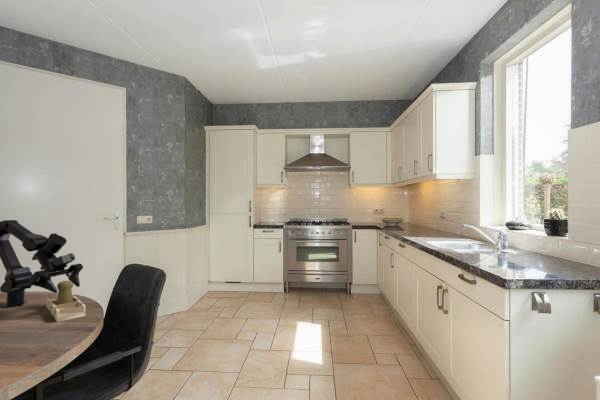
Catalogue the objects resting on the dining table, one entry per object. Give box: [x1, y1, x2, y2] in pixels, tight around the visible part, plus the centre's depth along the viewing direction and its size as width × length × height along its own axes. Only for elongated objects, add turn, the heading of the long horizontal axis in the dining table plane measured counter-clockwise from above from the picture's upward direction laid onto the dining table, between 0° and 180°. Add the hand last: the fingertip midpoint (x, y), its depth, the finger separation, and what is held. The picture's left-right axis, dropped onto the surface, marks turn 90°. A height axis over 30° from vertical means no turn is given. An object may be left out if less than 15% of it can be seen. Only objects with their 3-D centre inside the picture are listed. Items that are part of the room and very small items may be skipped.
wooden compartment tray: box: [45, 293, 86, 323], centre depth 122 cm, size 25×9×4 cm, turn 48°
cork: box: [56, 280, 74, 305], centre depth 122 cm, size 6×6×11 cm
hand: (68, 289), depth 122 cm, fingers open, 9 cm apart
